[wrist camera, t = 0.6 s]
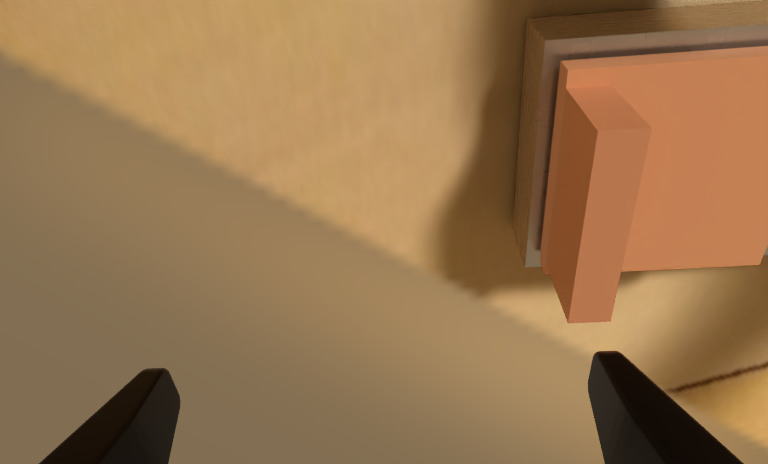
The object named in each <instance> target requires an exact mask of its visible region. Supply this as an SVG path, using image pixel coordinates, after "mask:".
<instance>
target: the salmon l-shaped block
mask: <svg viewBox="0 0 768 464" xmlns="http://www.w3.org/2000/svg"><path fill="white" fill-rule="evenodd" d="M767 245H768V46H759V47H745V48H731V49H717V50H703V51H689V52H676V53H662V54H648V55H634V56H620V57H606V58H592V59H579V60H565V61H560V70H559V80H558V89H557V99H556V108H555V118H554V127H553V137H552V146H551V156H550V165H549V175H548V184H547V194H546V204H545V213H544V223H543V232H542V242H541V251H540V264H541V267H542V270H543V272H544V275H550V276H551V279H552V281H553V284H554V287H555V289H556V292H557V295H558V297H559V300H560V303H561V305H562V308H563V311H564V313H565V316H566V319H567V321H568V323H584V322H607V321H611V316H612V312H613V307H614V302H615V298H616V293H617V288H618V284H619V279H620V275H621V272H626V271H646V270H666V269H686V268H706V267H726V266H746V265H760V263H761V260H762V258H763V255H764V253H765V250H766V248H767Z"/></svg>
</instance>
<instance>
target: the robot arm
mask: <svg viewBox="0 0 768 464" xmlns="http://www.w3.org/2000/svg"><path fill="white" fill-rule="evenodd" d="M588 392H589V397H590V401H591V405H592V410H593V414H594V418H595V423H596V427H597V431H598V436H599V440H600V444H601V449H602V453H603V457H604V461H605V464H743V463H742V462H741V461H740V460H739V459H738V458H737V457H736V456H735V455H733V454H732V453H731V452H730V451H729V450H728V449H727V448H726V447H725V446H723V445H722V444H721V443H720V442H719V441H718V440H717V439H716V438H715V437H714V436H712V435H711V434H710V433H709V432H708V431H707V430H706V429H705V428H704V427H702V426H701V425H700V424H699V423H698V422H697V421H696V420H695V419H694V418H692V417H691V416H690V415H689V414H688V413H687V412H686V411H685V410H684V409H682V408H681V407H680V406H679V405H678V404H677V403H676V402H675V401H674V400H673V399H671V398H670V397H669V396H668V395H667V394H666V393H665V392H664V391H663V390H661V389H660V388H659V387H658V386H657V385H656V384H655V383H654V382H653V381H651V380H650V379H649V378H648V377H647V376H646V375H645V374H644V373H643V372H641V371H640V370H639V369H638V368H637V367H636V366H635V365H634V364H633V363H631V362H630V361H629V360H628V359H627V358H626V357H625V356H624V355H623V354H621V353H620V352H617V351H599V352H596V353H595V354H594V356H593V360H592V365H591V370H590V375H589V379H588ZM179 409H180V396H179V394H178V391H177V389H176V387H175V384H174V382H173V380H172V378H171V375H170V373H169V371H168V370H167V369H165V368H151V369H145V370H143V371H141V372H140V373H139V374H138V375H137V376H136V377H135V378H134V379H132V380H131V381H130V382H129V383H128V384H127V385H126V386H124V387H123V388H122V389H121V390H120V391H119V392H118V393H117V394H116V395H115V396H113V397H112V398H111V399H110V400H109V401H108V402H107V403H106V404H105V405H103V406H102V407H101V408H100V409H99V410H98V411H97V412H96V413H95V414H93V415H92V416H91V417H90V418H89V419H88V420H87V421H86V422H85V423H83V424H82V425H81V426H80V427H79V428H78V429H77V430H76V431H75V432H74V433H72V434H71V435H70V436H69V437H68V438H67V439H66V440H65V441H64V442H63V443H61V444H60V445H59V446H58V447H57V448H56V449H55V450H54V451H52V452H51V453H50V454H49V455H48V456H47V457H46V458H45V459H44V460H43V461H41V462H40V463H39V464H168V462H169V457H170V452H171V447H172V442H173V438H174V433H175V428H176V423H177V419H178V414H179Z"/></svg>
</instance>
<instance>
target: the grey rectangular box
mask: <svg viewBox="0 0 768 464" xmlns="http://www.w3.org/2000/svg"><path fill="white" fill-rule="evenodd" d="M759 46H768V0H762V1H749V2H736V3H723V4H710V5H697V6H684V7H671V8H658V9H645V10H632V11H619V12H606V13H593V14H580V15H567V16H554V17H541V18H528V19H527V25H526V39H525V54H524V69H523V84H522V99H521V114H520V129H519V143H518V158H517V173H516V188H515V203H514V218H513V231H514V234H515V237H516V240H517V243H518V247H519V250H520V253H521V256H522V259H523V262H524V265H525V268H526V267H541V264H540V251H541V242H542V232H543V223H544V213H545V204H546V194H547V184H548V175H549V165H550V156H551V146H552V137H553V127H554V118H555V108H556V99H557V89H558V80H559V70H560V61H565V60H579V59H592V58H606V57H620V56H634V55H648V54H662V53H676V52H689V51H703V50H717V49H731V48H745V47H759ZM764 255H768V245H767V248H766V250H765V253H764Z"/></svg>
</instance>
